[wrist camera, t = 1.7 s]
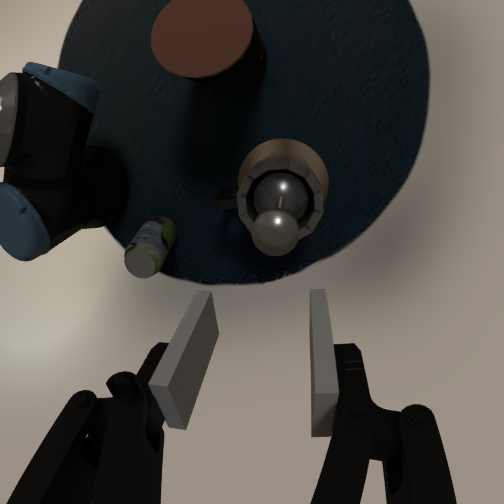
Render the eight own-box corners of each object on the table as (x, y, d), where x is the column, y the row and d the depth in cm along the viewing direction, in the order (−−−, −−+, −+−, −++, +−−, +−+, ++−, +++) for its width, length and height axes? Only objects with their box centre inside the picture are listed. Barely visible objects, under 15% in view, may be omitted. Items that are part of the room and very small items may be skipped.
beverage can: (161, 205, 51) (128, 228, 40) (190, 235, 53) (165, 265, 42) (140, 228, 53) (107, 255, 42) (169, 257, 55) (141, 290, 44)
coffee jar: (281, 69, 40) (275, 38, 24) (223, 107, 43) (184, 98, 27) (242, 20, 37) (215, -29, 21) (186, 57, 40) (133, 30, 24)
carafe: (232, 217, 50) (215, 245, 39) (226, 155, 46) (204, 166, 35) (316, 213, 48) (323, 241, 37) (314, 150, 44) (321, 158, 33)
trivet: (243, 227, 51) (242, 228, 50) (234, 142, 45) (233, 142, 45) (329, 224, 49) (329, 225, 48) (326, 136, 43) (326, 136, 43)
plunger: (256, 224, 40) (240, 270, 28) (252, 173, 37) (232, 198, 25) (308, 222, 39) (314, 268, 27) (306, 170, 36) (313, 194, 24)
